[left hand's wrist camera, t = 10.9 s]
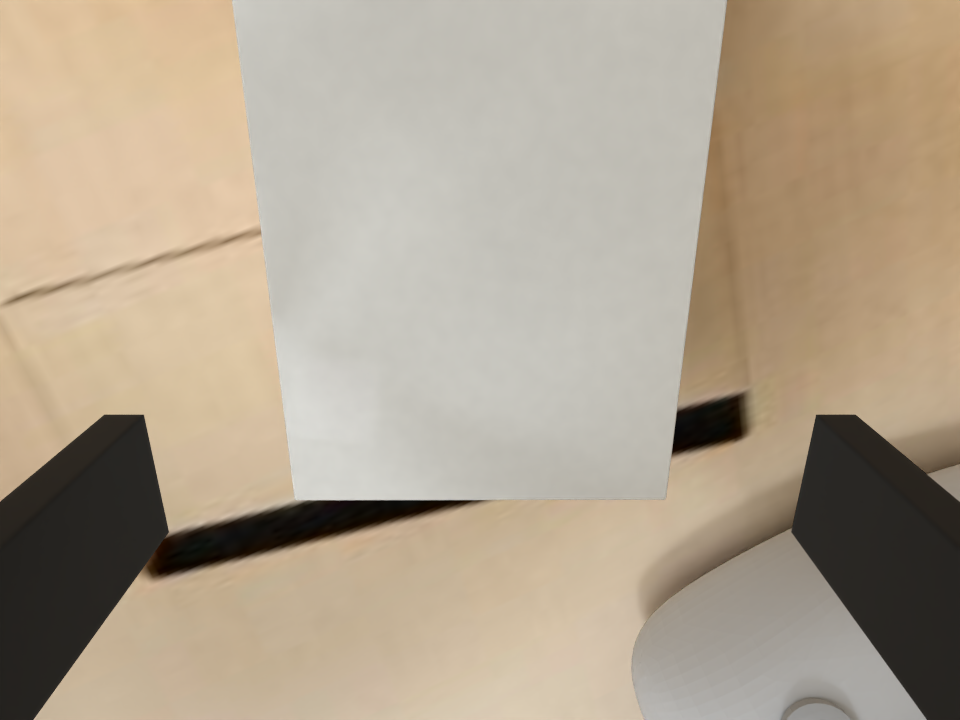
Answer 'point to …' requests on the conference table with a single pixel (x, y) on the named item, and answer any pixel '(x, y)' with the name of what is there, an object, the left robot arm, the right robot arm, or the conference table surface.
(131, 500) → the left robot arm
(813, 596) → the projector
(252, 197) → the conference table surface
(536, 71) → the cabinet
